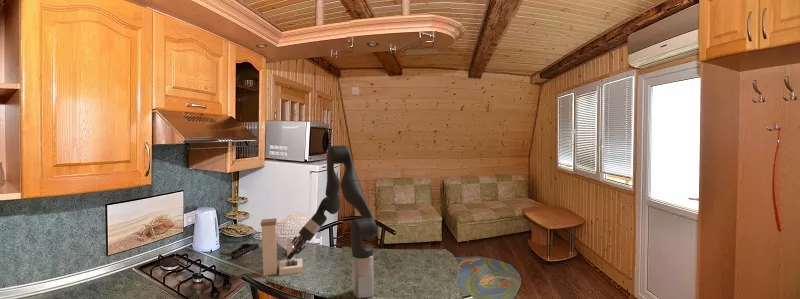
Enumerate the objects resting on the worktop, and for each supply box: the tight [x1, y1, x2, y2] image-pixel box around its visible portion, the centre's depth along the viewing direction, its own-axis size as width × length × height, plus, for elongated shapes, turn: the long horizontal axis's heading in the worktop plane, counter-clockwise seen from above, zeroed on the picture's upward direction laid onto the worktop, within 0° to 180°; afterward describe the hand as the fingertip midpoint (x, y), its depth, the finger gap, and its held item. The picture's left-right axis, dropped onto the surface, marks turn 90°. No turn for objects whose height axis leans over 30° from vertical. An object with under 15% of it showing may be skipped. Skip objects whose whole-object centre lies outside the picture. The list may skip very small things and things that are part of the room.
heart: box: [276, 211, 311, 251], centre depth 185 cm, size 28×16×22 cm, turn 173°
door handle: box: [221, 242, 260, 261], centre depth 187 cm, size 3×20×16 cm
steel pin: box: [286, 243, 296, 267], centre depth 163 cm, size 4×4×11 cm
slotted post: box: [260, 217, 304, 276], centre depth 161 cm, size 11×19×27 cm, turn 108°
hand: (287, 257), depth 162 cm, fingers closed on steel pin, 4 cm apart
